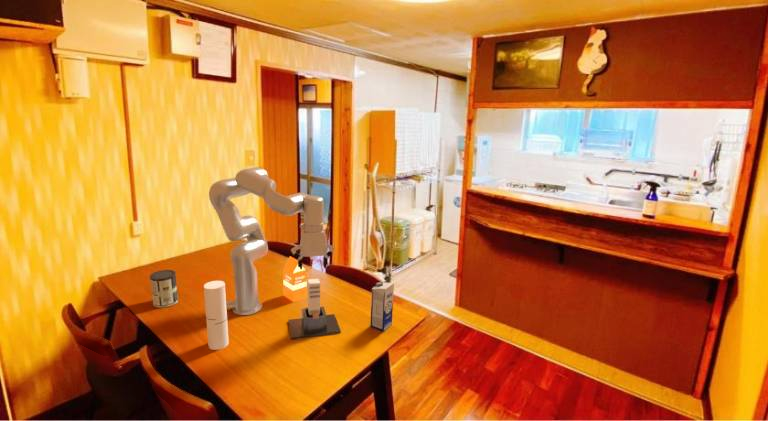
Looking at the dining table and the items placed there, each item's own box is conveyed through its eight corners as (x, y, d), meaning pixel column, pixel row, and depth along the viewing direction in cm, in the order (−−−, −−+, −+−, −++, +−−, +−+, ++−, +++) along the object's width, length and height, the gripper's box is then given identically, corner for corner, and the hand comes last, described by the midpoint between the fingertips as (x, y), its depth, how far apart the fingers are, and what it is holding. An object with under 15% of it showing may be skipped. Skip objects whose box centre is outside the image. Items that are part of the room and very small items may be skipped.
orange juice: (297, 291, 192) (296, 254, 187) (306, 297, 186) (306, 259, 181) (283, 295, 186) (282, 257, 181) (292, 302, 180) (292, 263, 175)
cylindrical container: (212, 339, 149) (207, 280, 143) (231, 338, 149) (227, 280, 143) (205, 350, 142) (200, 289, 136) (225, 349, 143) (221, 289, 136)
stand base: (291, 339, 150) (290, 320, 148) (288, 321, 163) (288, 303, 161) (340, 333, 157) (341, 314, 155) (334, 316, 170) (334, 298, 167)
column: (309, 315, 155) (309, 284, 152) (308, 310, 160) (307, 279, 156) (320, 314, 156) (320, 283, 153) (318, 308, 161) (318, 278, 158)
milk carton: (383, 332, 159) (385, 288, 154) (370, 327, 162) (371, 284, 157) (392, 324, 165) (394, 282, 160) (379, 320, 168) (380, 278, 163)
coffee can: (168, 295, 182) (165, 268, 178) (183, 300, 178) (180, 272, 174) (147, 304, 173) (144, 275, 169) (162, 309, 168) (159, 280, 165)
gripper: (292, 231, 143) (291, 272, 147) (337, 229, 149) (335, 269, 153) (290, 225, 150) (290, 265, 154) (333, 223, 155) (332, 262, 160)
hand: (312, 267), depth 154 cm, fingers open, 9 cm apart
